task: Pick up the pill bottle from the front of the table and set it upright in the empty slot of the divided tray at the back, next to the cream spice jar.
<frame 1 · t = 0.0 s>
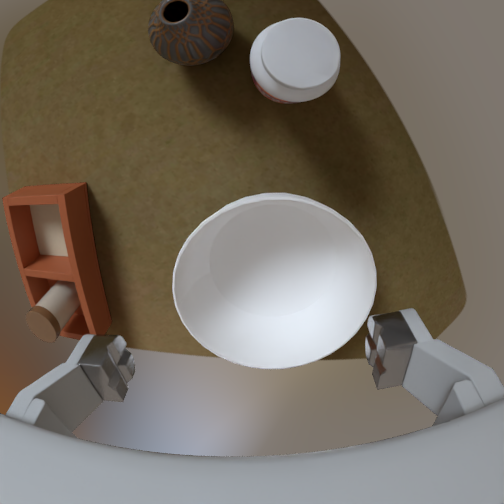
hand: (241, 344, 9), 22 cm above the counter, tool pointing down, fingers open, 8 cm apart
bowl: (273, 259, 33), on the counter
pill bottle: (285, 73, 25), on the counter
vase: (200, 37, 23), on the counter
divided tray: (66, 257, 34), on the counter
spice jar: (71, 289, 35), point 1 cm above the counter, touching divided tray
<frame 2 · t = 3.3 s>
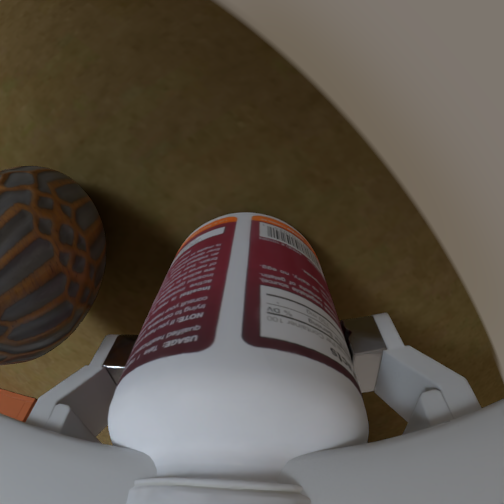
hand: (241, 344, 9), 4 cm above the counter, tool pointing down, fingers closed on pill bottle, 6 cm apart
pill bottle: (248, 274, 13), on the counter, touching gripper
vase: (66, 223, 12), on the counter
divided tray: (52, 442, 24), on the counter
when the fingers open (5 cm above the counter, at t = 12.2 s): pill bottle stays where it is, resting on divided tray.
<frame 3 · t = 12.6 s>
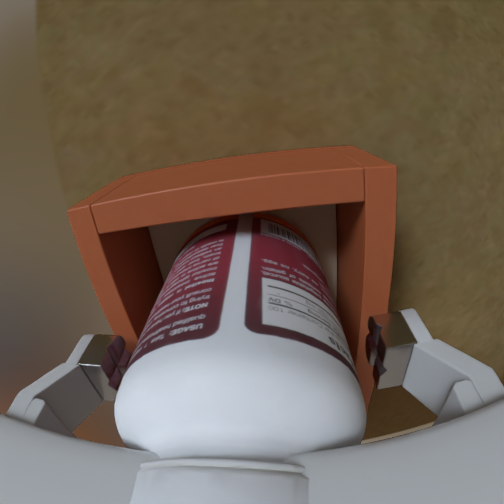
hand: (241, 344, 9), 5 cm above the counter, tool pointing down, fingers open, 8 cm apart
pill bottle: (249, 270, 14), point 1 cm above the counter, touching divided tray
divided tray: (260, 337, 16), on the counter
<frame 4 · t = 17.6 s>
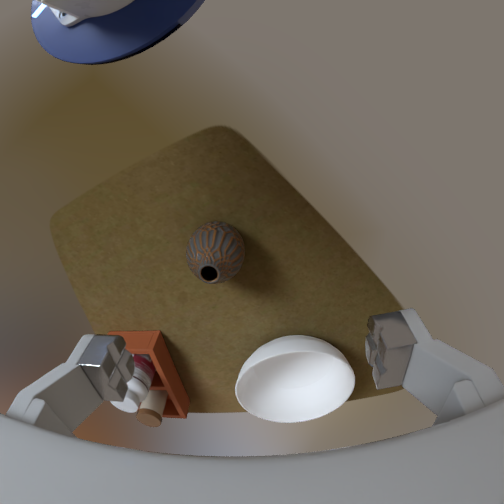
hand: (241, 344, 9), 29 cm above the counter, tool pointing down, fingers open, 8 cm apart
bowl: (292, 358, 49), on the counter
pill bottle: (142, 354, 49), point 1 cm above the counter, touching divided tray
vase: (219, 239, 40), on the counter
divided tray: (151, 369, 52), on the counter
spice jar: (158, 386, 53), point 1 cm above the counter, touching divided tray
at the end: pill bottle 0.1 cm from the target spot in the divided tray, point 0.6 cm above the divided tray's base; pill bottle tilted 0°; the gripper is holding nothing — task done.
